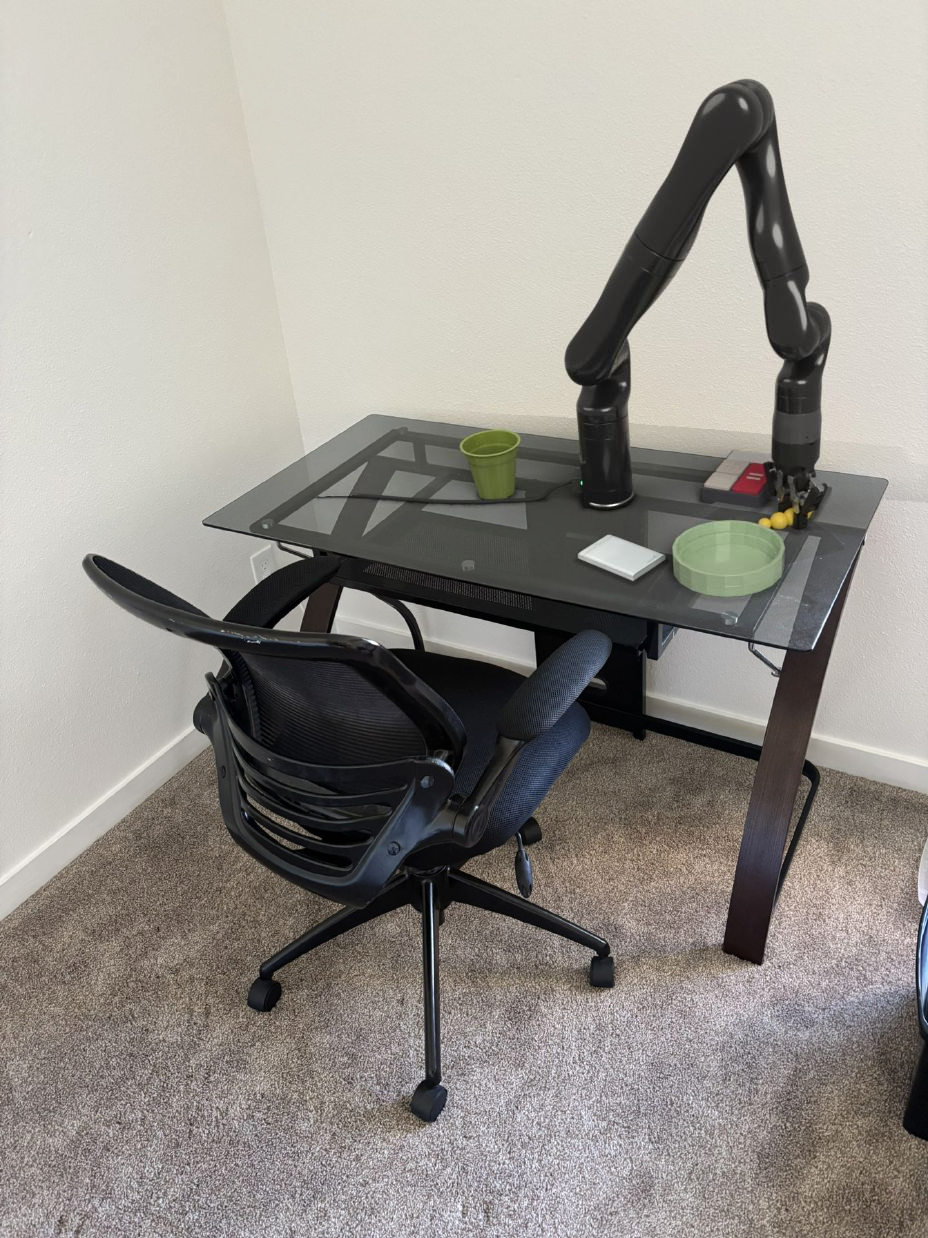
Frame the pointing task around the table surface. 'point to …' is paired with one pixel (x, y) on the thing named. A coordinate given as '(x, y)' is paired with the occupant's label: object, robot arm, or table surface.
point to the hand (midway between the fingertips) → (792, 525)
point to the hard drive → (621, 557)
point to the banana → (780, 519)
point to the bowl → (728, 558)
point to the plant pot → (492, 462)
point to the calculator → (738, 480)
